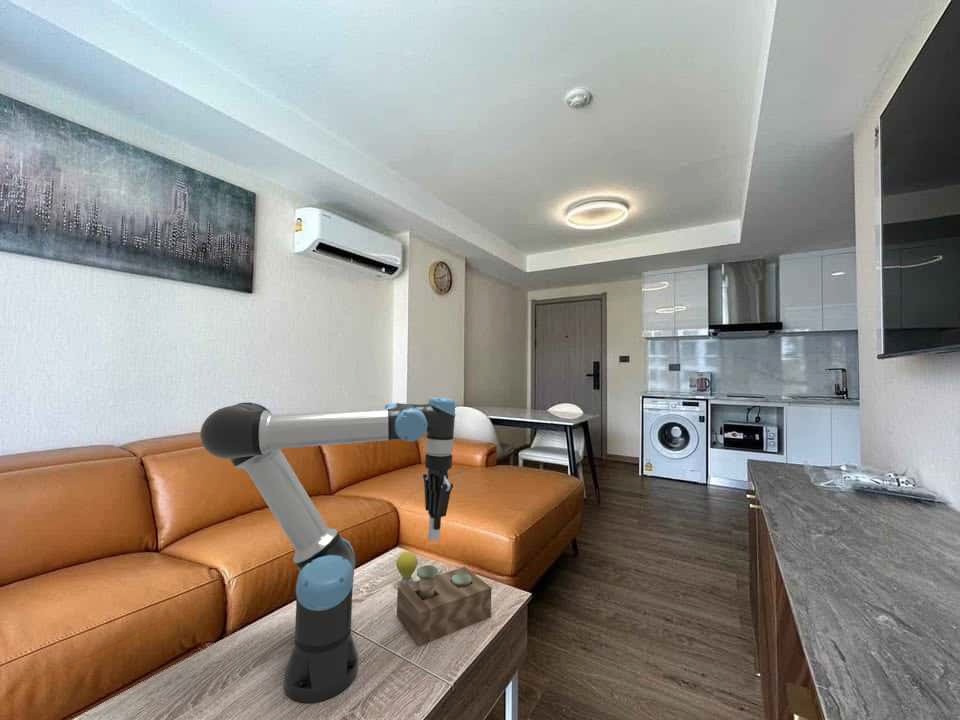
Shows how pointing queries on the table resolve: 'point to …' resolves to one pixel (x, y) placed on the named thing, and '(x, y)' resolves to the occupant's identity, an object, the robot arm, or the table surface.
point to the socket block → (443, 606)
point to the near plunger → (427, 581)
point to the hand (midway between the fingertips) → (433, 539)
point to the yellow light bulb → (406, 566)
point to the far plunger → (461, 579)
